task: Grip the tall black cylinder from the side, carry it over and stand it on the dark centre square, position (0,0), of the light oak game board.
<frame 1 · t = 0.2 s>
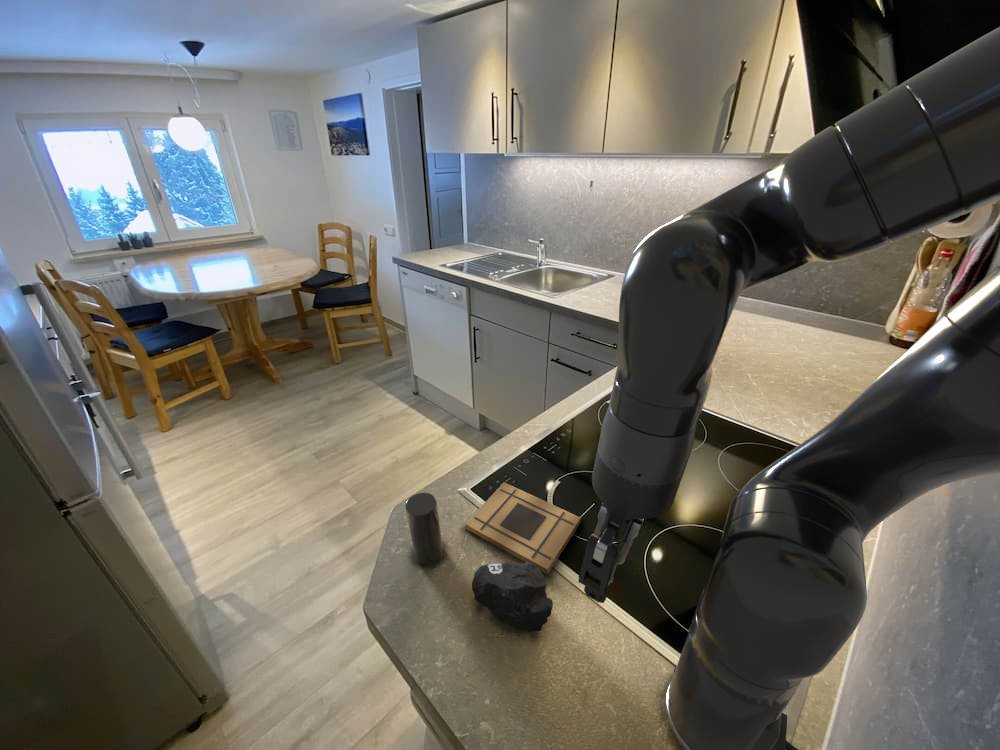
hand: (610, 564, 45), 17 cm above the worktop, tool pointing down, fingers open, 8 cm apart
mineral: (515, 601, 60), on the worktop
board: (523, 525, 72), on the worktop
tall black cylinder: (429, 552, 67), on the worktop
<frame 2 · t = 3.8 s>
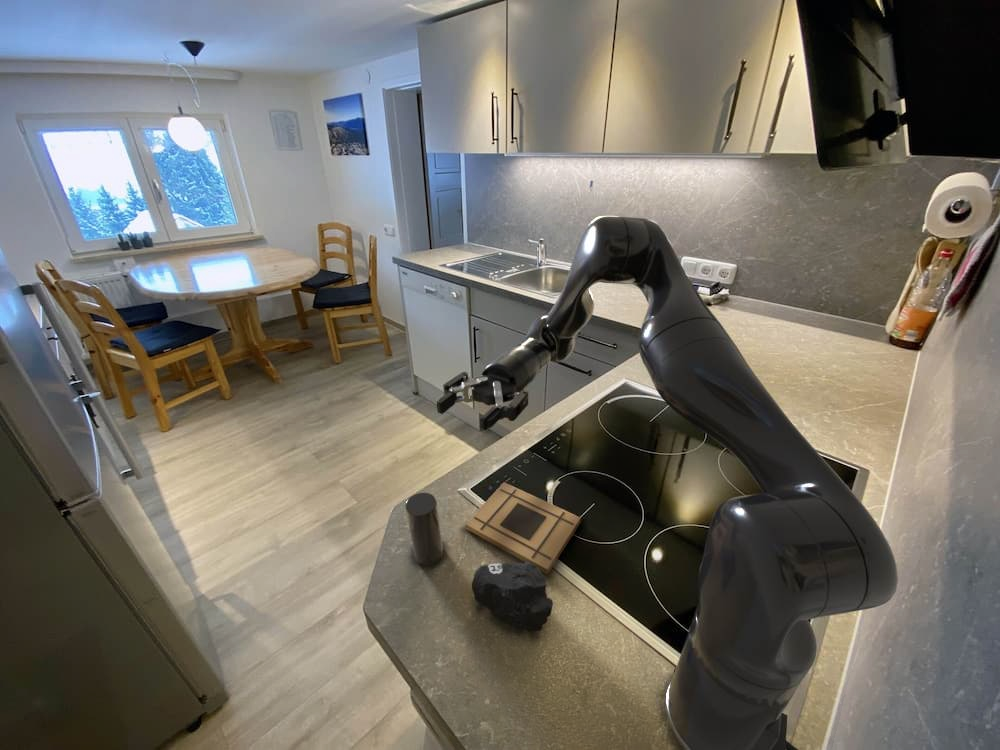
hand: (459, 416, 65), 20 cm above the worktop, tool horizontal, fingers open, 8 cm apart
nothing on the worktop moved.
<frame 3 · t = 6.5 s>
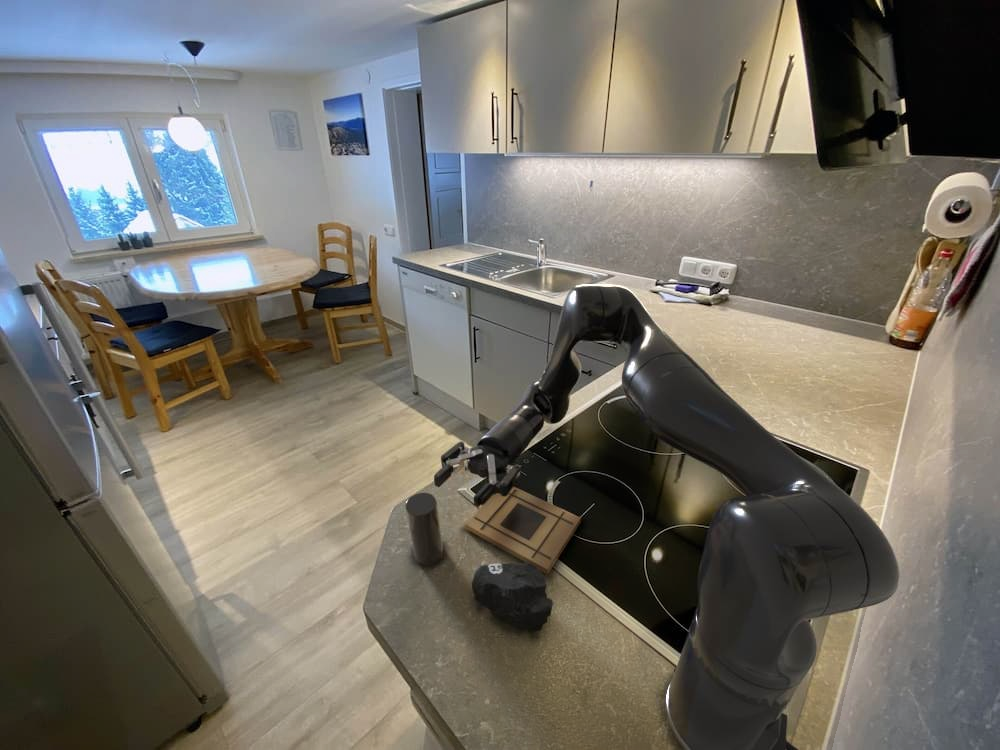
hand: (455, 492, 70), 7 cm above the worktop, tool horizontal, fingers open, 8 cm apart
nothing on the worktop moved.
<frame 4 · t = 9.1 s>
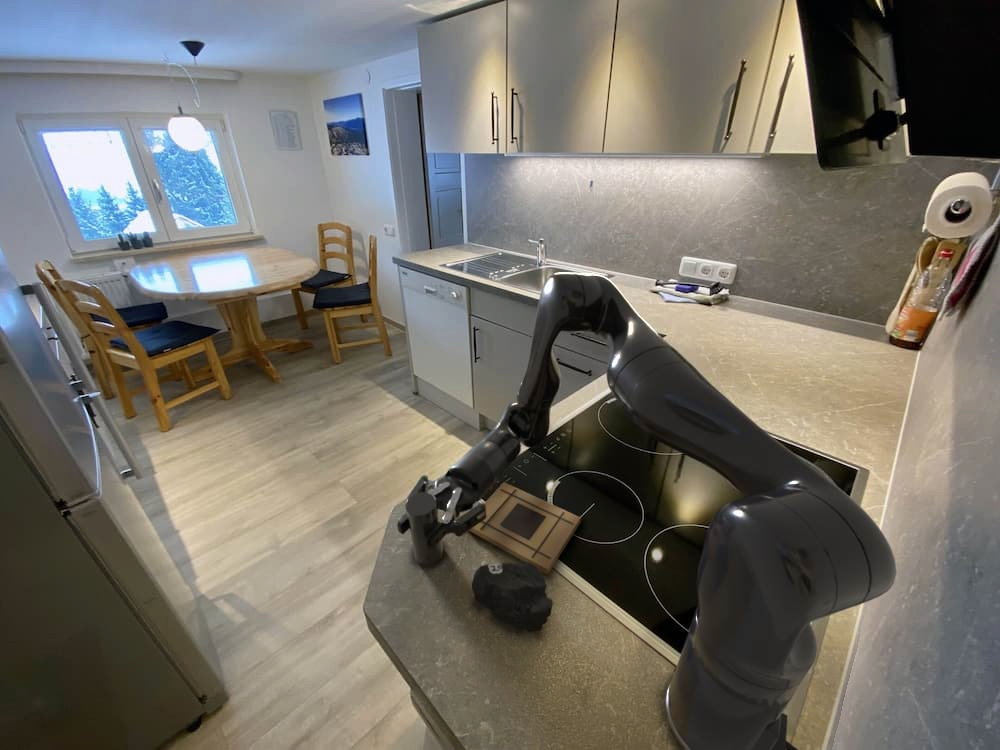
hand: (412, 536, 62), 7 cm above the worktop, tool horizontal, fingers closed on tall black cylinder, 4 cm apart
tall black cylinder: (429, 552, 67), on the worktop, touching gripper
everything else where it was.
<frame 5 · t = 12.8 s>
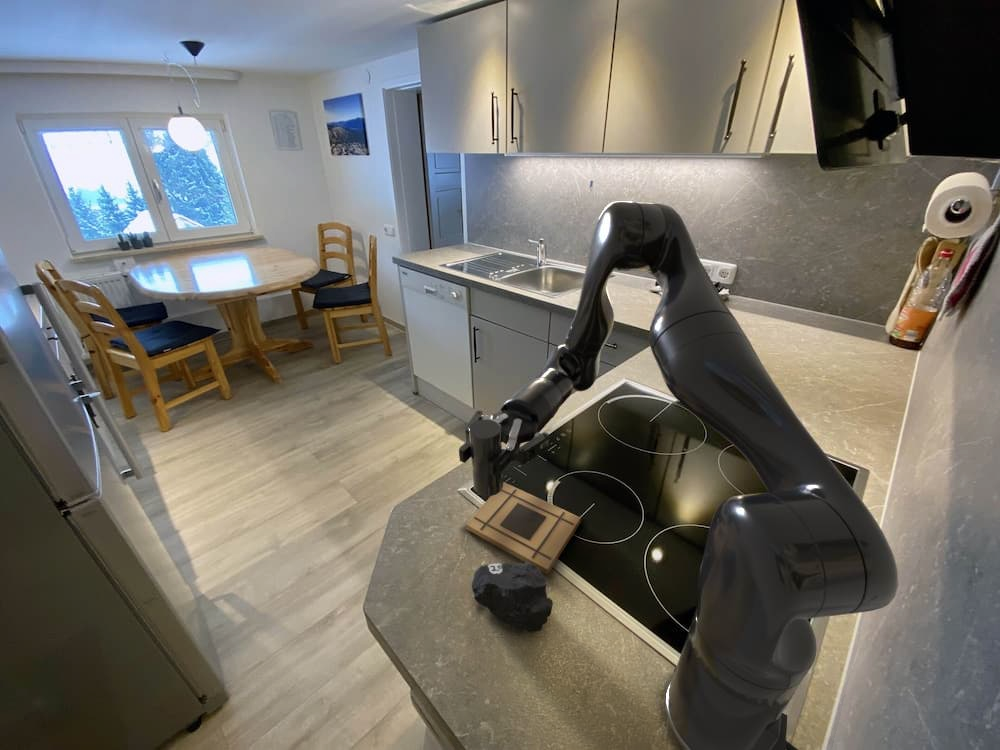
hand: (476, 463, 59), 18 cm above the worktop, tool horizontal, fingers closed on tall black cylinder, 4 cm apart
tall black cylinder: (488, 485, 65), point 11 cm above the worktop, touching gripper
everything else where it was.
when the fingers open (8 cm above the worktop, at t = 16.7 s): tall black cylinder stays where it is, resting on board.
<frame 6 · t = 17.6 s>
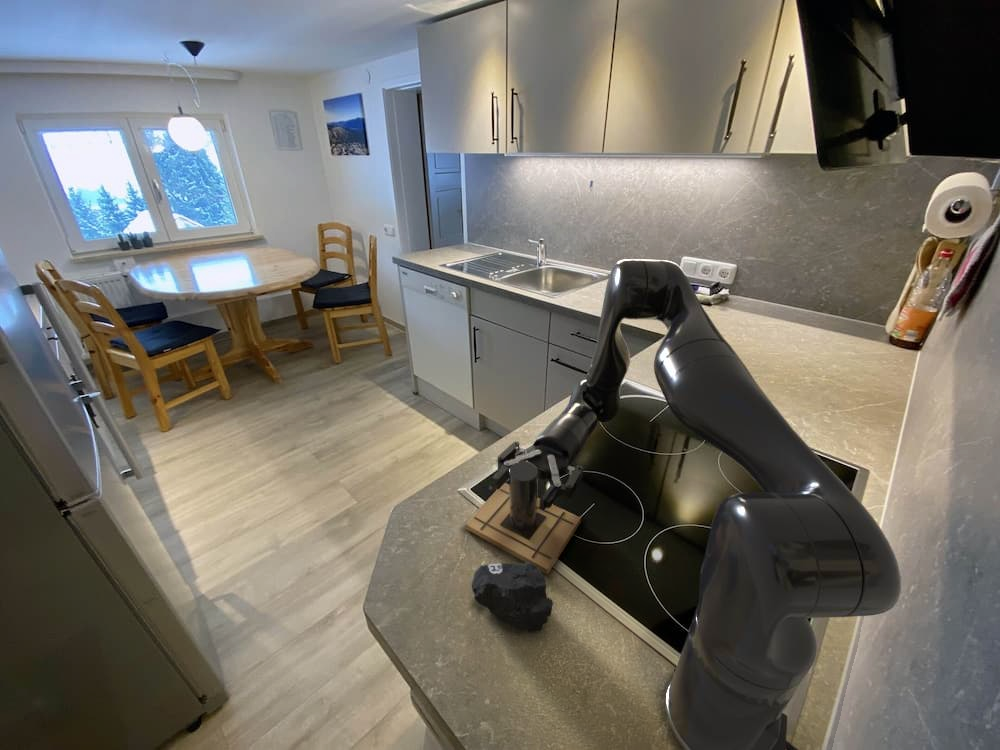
hand: (518, 495, 66), 9 cm above the worktop, tool horizontal, fingers open, 8 cm apart
tall black cylinder: (523, 519, 71), point 1 cm above the worktop, touching board
everything else where it was.
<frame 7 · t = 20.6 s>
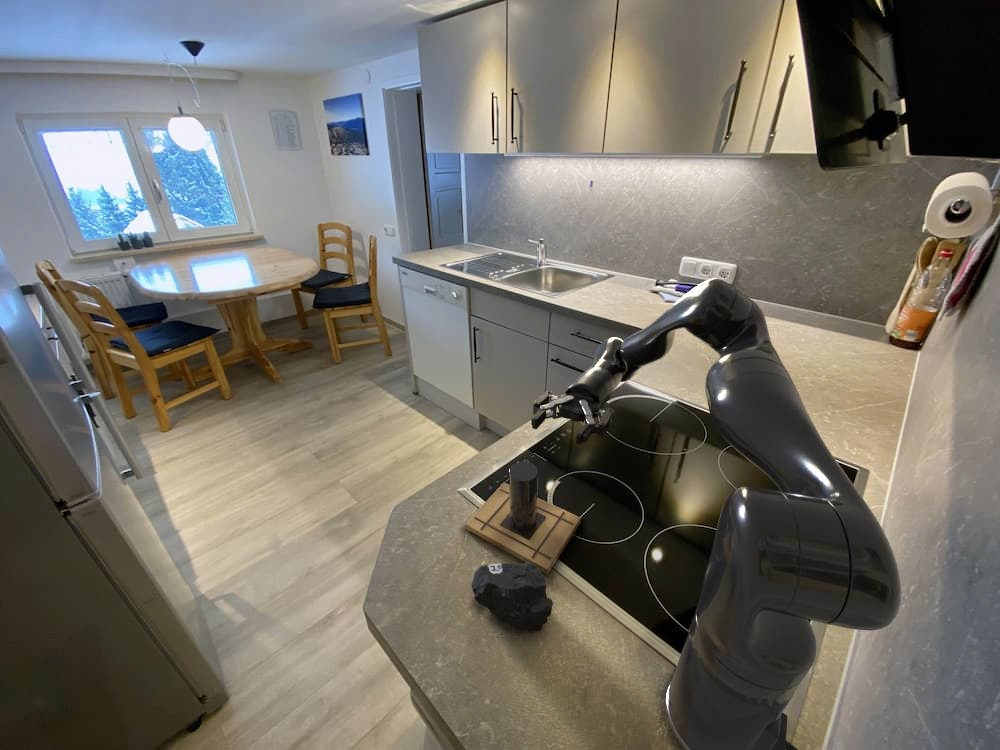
hand: (555, 432, 72), 14 cm above the worktop, tool horizontal, fingers open, 8 cm apart
nothing on the worktop moved.
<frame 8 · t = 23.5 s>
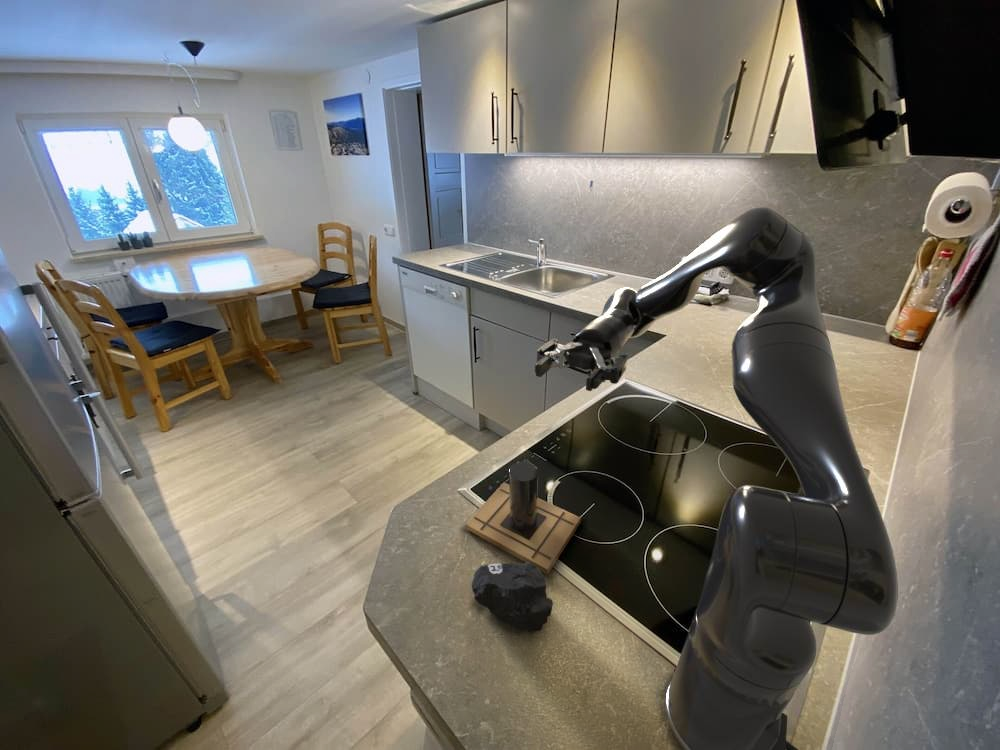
hand: (562, 378, 64), 26 cm above the worktop, tool horizontal, fingers open, 8 cm apart
nothing on the worktop moved.
at the end: tall black cylinder 0.1 cm off-centre on the board, point 1.3 cm above the board's base; tall black cylinder tilted 0°; the gripper is holding nothing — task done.
